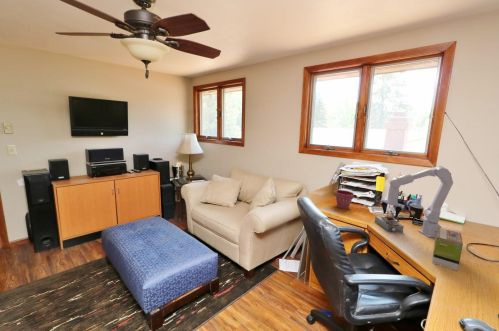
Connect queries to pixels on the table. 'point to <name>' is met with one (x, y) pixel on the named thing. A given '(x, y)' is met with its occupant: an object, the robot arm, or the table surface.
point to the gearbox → (389, 224)
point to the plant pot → (344, 198)
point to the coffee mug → (415, 210)
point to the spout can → (390, 215)
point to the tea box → (447, 248)
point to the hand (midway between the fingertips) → (390, 215)
